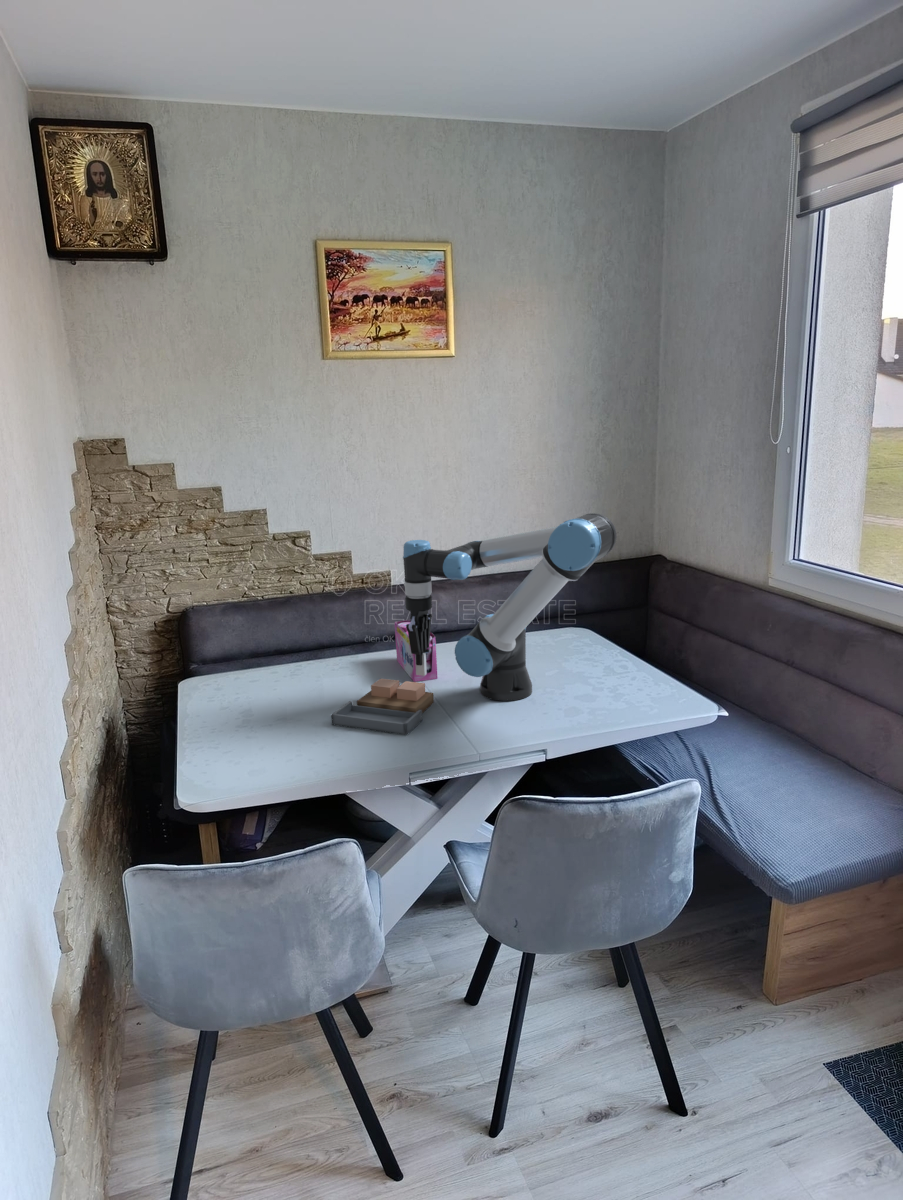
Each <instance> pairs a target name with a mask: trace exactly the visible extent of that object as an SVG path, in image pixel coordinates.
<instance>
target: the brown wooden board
mask: <svg viewBox="0 0 903 1200" xmlns="http://www.w3.org/2000/svg"><path fill="white" fill-rule="evenodd" d="M434 700H435V699H434V692H429V691H425V694H424V695H423V696H422V697H421V698H420V699H418V700H417V701H413V700H405V699H397V693H396V694H395V695H394V696H392V697H391V698H388V697H379V696H372V695H371V690H370V691H367V693H365V694H364V695H363V696H361V697H360V698H359V699H358V700H357V701H356V705H358V706H366V707H374V708H382V709H390V710H398V711H406V712H414V713H416V712H417V711H418V710H422V714H423V713H424V712H425V711H427V710H428V709H429V708H430V707H431V706H432V705H433V704H434V703H435V701H434Z"/></svg>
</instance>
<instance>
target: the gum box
mask: <svg viewBox="0 0 903 1200" xmlns="http://www.w3.org/2000/svg"><path fill="white" fill-rule="evenodd" d="M407 624H410V619H406V620H399V621H398V620H397V621H394V632H395V633H394V637H395V648H396V650H395V651H396V661H397V662H398V664H399V665H400V666H401V667H402V669H403V670H404V672H406V674H407V675H408V676H409V678H411V680H412V682H423V681H430V680H437V679H438V664H437V662H438V661H437V660H438V659H437V641H436V638H437V637H436V636H435V634H434V633H433V632H431V631H430V643H429V648H427V649H429V652H425V653H426V669H427V674H426V675H425V676H421V675H416V660H415V654H412V653H411V647H410V641H409V635H408V631H407V628H406V625H407Z"/></svg>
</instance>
